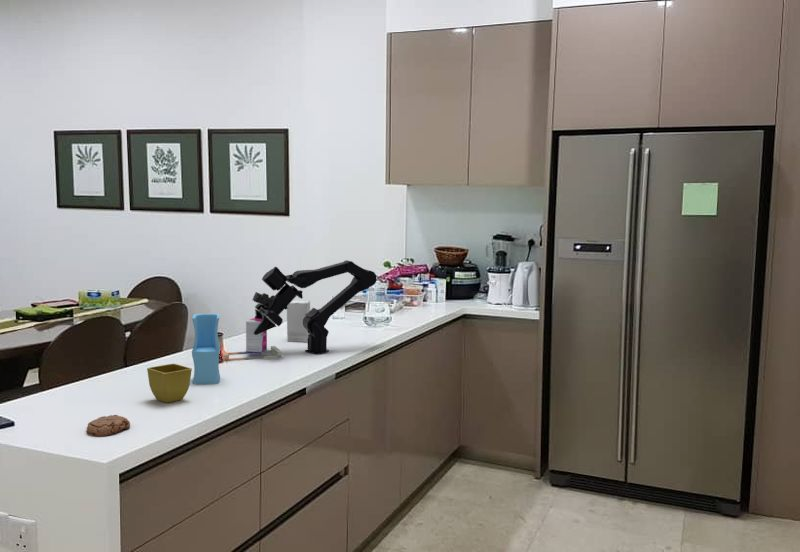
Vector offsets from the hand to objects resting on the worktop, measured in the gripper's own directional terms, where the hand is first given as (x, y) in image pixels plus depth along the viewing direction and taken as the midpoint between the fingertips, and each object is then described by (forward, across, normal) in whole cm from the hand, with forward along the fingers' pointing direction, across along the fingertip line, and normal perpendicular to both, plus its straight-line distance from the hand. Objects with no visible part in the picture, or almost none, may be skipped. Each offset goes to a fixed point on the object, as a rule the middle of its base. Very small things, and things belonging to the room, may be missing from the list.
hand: (252, 332), depth 257 cm
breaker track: (+6, 0, +6) cm, 9 cm away
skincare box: (-10, -21, +23) cm, 33 cm away
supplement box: (+4, 0, +6) cm, 8 cm away
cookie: (+41, +68, -30) cm, 85 cm away
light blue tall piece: (+20, +29, -9) cm, 37 cm away
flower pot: (+29, +47, -18) cm, 58 cm away
